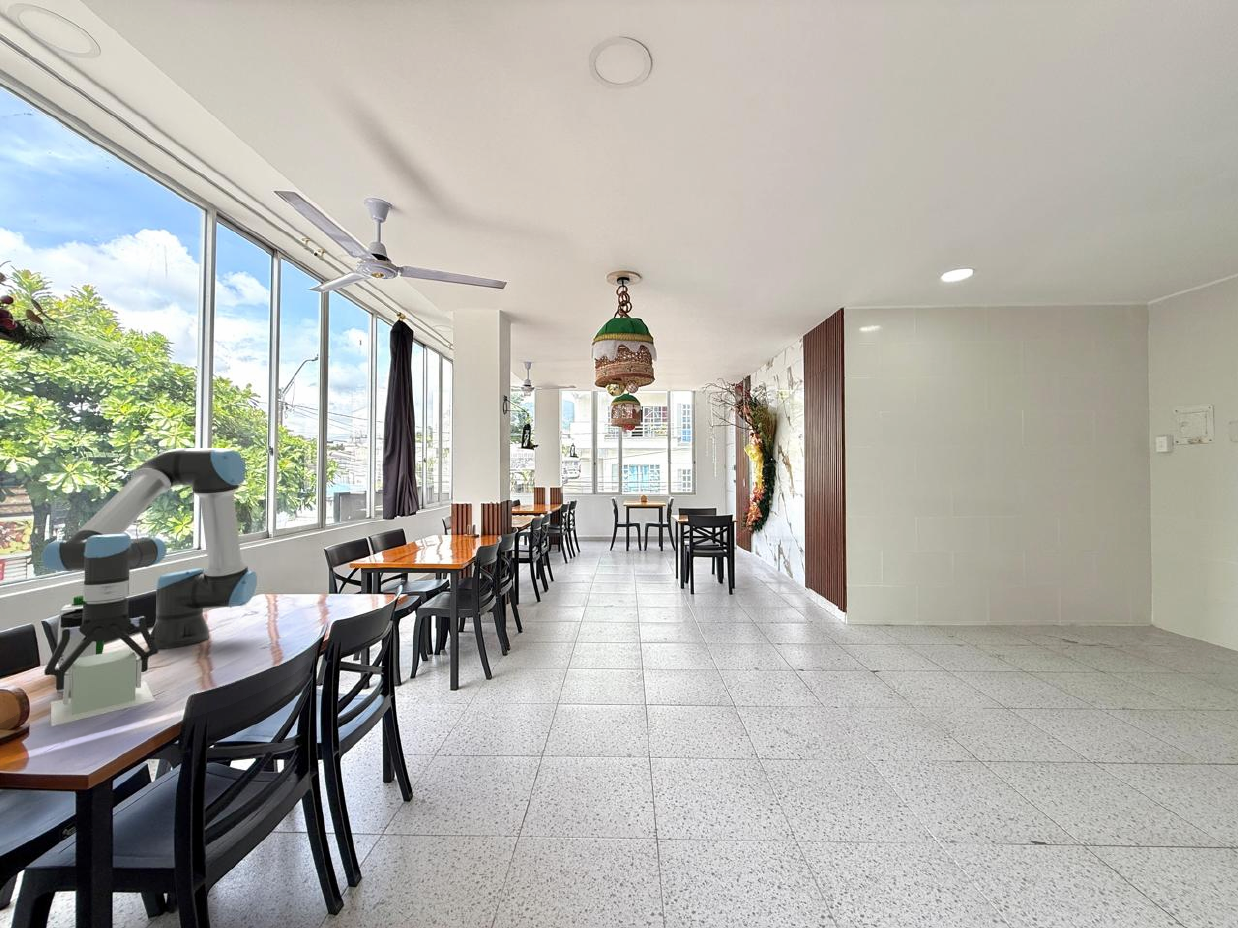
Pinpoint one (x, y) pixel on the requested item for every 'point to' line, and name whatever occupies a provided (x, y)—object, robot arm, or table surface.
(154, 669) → the table surface
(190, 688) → the table surface
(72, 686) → the mint green block
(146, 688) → the board
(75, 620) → the travel mug
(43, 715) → the table surface
